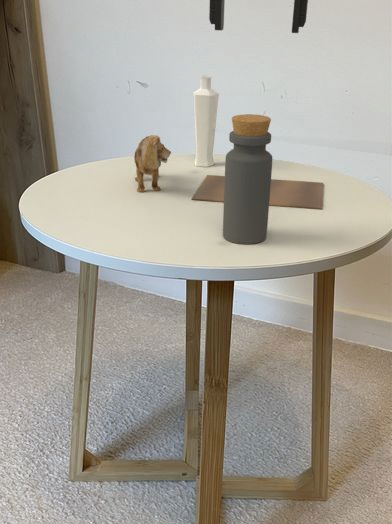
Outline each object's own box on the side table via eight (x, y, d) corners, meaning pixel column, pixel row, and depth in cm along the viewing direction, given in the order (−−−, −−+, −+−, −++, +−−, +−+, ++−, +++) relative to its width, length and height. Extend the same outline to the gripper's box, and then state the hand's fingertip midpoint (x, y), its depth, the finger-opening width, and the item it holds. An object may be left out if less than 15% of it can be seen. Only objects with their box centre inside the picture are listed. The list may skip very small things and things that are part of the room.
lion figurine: (173, 197, 94) (172, 137, 89) (139, 198, 93) (137, 138, 88) (156, 172, 106) (155, 118, 102) (126, 173, 105) (124, 119, 101)
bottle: (260, 247, 76) (269, 124, 69) (216, 240, 78) (220, 119, 70) (271, 232, 81) (280, 115, 73) (230, 226, 83) (235, 111, 75)
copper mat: (323, 183, 102) (323, 182, 102) (322, 209, 90) (322, 208, 90) (207, 176, 105) (207, 174, 105) (191, 199, 93) (191, 198, 93)
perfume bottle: (218, 162, 113) (221, 75, 105) (213, 167, 110) (216, 78, 102) (194, 160, 114) (195, 74, 106) (189, 165, 110) (189, 77, 103)
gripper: (189, -163, 57) (187, 31, 65) (343, -166, 54) (321, 35, 63) (203, -148, 63) (200, 27, 71) (341, -150, 61) (321, 31, 69)
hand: (256, 31), depth 67 cm, fingers open, 8 cm apart
